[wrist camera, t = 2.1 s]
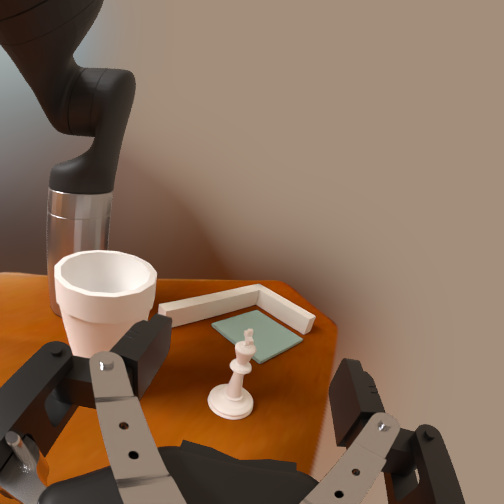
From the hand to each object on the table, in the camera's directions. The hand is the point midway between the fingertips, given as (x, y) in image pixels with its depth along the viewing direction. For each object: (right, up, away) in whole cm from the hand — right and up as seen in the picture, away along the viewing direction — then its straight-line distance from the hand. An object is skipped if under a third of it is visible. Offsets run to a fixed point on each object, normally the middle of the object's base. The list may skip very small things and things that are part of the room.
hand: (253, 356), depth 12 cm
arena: (-2, -7, +30) cm, 31 cm away
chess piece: (-2, -12, +15) cm, 19 cm away
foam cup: (-15, -9, +14) cm, 23 cm away
